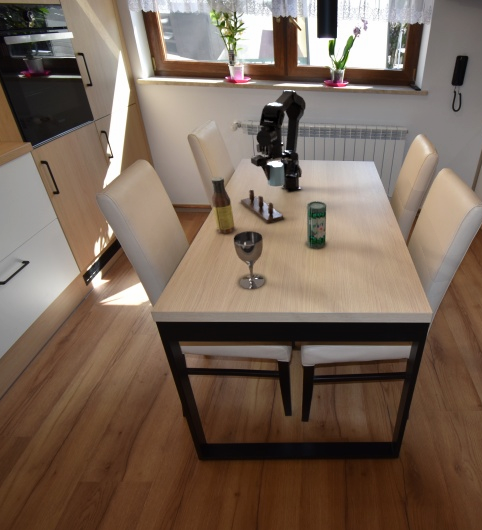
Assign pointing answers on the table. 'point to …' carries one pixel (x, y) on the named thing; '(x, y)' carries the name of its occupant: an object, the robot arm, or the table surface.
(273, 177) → the cup
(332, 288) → the table surface
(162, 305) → the table surface
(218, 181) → the sauce bottle
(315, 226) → the can
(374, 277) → the table surface
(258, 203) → the rack
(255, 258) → the wine glass
